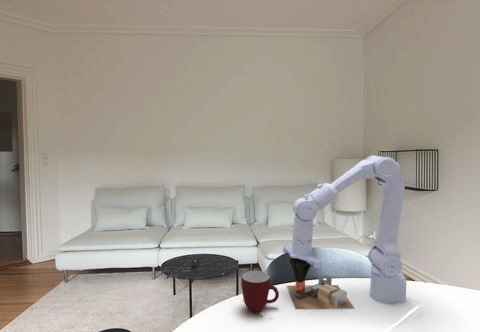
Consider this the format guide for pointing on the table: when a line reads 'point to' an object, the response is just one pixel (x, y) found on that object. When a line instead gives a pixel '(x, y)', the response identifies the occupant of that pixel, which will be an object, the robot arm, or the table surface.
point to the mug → (257, 290)
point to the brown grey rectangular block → (338, 299)
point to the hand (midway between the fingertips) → (299, 282)
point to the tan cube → (326, 293)
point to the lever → (311, 287)
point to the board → (314, 300)
